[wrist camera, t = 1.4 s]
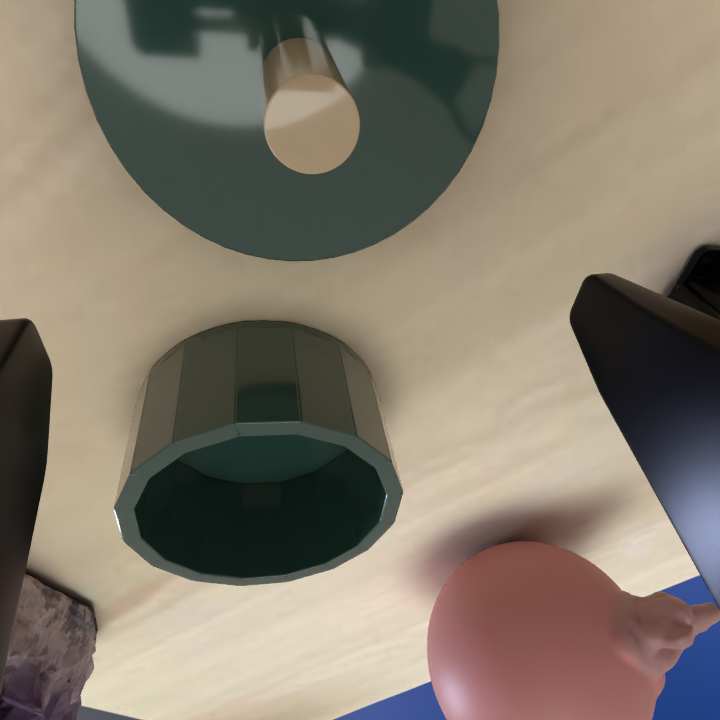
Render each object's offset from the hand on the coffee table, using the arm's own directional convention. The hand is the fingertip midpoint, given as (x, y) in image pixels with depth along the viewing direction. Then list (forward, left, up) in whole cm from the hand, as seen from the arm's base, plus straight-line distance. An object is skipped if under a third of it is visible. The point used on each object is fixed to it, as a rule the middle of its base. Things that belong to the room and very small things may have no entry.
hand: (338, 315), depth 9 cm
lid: (0, 0, -13) cm, 13 cm away
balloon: (-20, +33, -14) cm, 41 cm away
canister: (+1, +17, -14) cm, 22 cm away
